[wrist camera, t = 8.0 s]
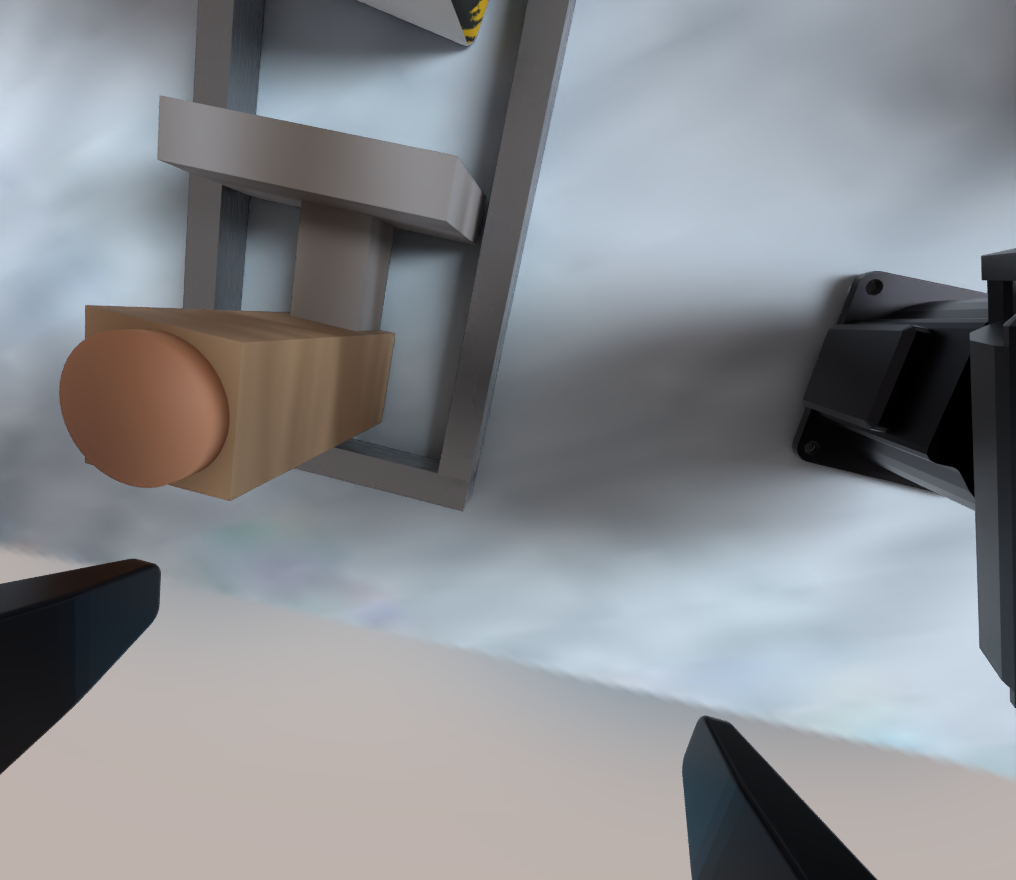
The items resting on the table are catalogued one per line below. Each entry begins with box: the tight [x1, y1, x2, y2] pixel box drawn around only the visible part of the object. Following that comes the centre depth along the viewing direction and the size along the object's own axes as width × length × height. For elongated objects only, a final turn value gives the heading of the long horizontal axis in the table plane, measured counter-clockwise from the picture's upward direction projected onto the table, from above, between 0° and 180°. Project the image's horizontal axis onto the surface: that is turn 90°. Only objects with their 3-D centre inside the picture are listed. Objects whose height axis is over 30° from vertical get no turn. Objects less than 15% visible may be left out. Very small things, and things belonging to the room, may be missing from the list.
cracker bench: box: [183, 0, 576, 511], centre depth 14 cm, size 12×26×7 cm, turn 168°
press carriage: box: [59, 96, 486, 501], centre depth 14 cm, size 8×9×10 cm
